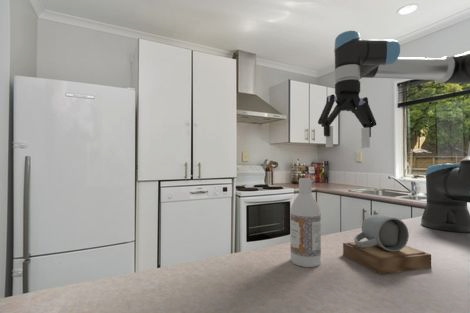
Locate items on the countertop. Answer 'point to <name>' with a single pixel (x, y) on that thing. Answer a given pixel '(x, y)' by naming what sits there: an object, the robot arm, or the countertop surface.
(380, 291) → the countertop surface
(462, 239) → the countertop surface
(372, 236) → the ceramic mug
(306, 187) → the bath foam
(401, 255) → the walnut base
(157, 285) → the countertop surface
